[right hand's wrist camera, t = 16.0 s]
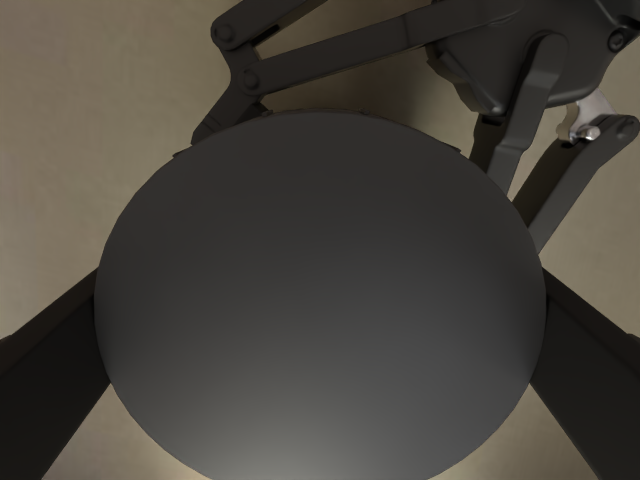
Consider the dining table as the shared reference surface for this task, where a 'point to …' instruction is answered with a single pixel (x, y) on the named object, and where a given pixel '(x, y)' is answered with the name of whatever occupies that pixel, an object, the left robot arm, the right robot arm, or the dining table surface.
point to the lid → (320, 302)
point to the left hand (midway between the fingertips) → (265, 284)
